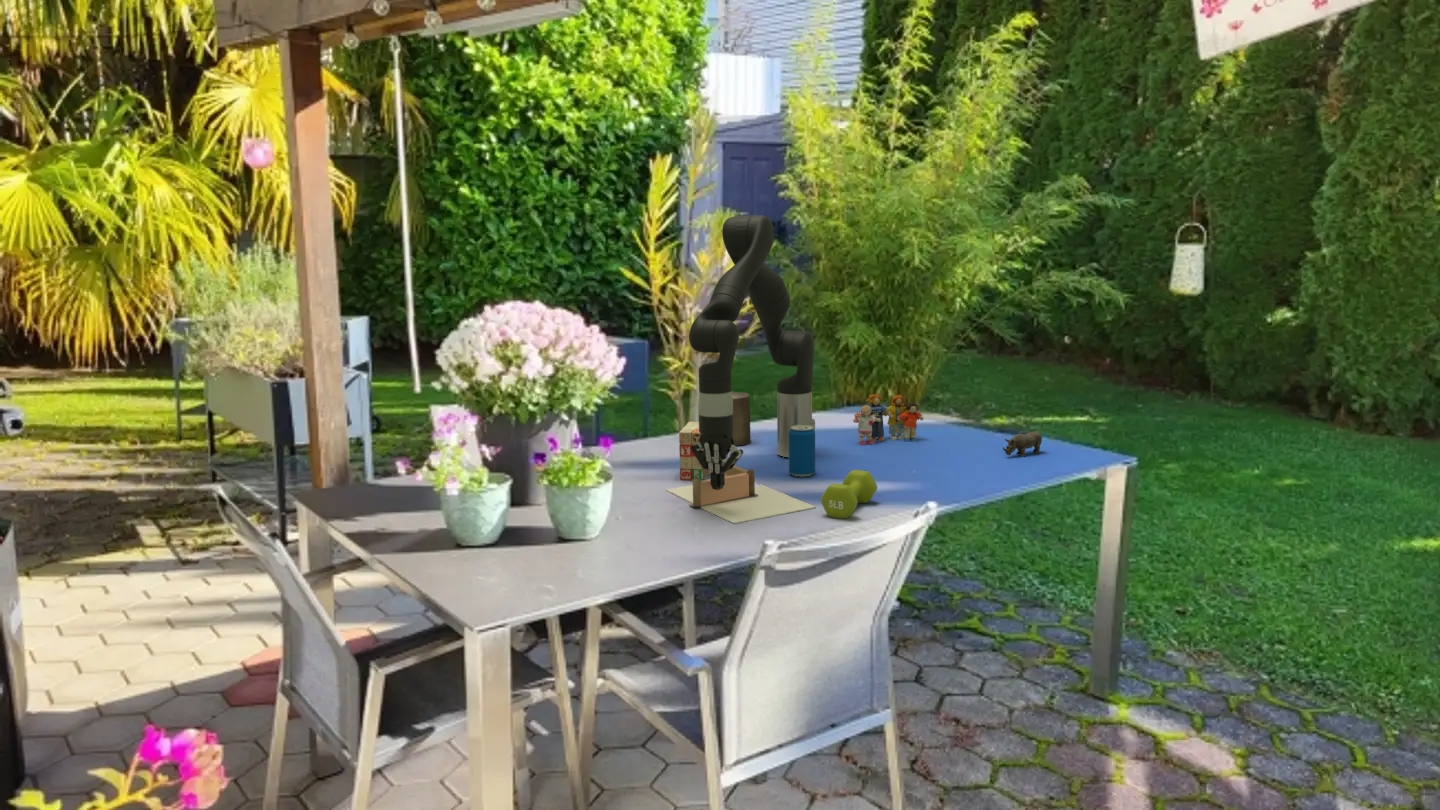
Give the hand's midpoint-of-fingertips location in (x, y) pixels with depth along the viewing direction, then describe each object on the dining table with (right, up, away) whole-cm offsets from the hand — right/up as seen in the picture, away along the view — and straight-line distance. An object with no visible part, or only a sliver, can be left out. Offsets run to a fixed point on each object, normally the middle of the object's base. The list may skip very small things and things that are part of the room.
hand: (717, 488), depth 226 cm
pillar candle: (+4, +8, +65) cm, 65 cm away
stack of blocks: (-4, +2, +35) cm, 36 cm away
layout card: (+5, -3, +8) cm, 10 cm away
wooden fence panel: (+4, -1, +16) cm, 16 cm away
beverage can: (+21, +1, +29) cm, 35 cm away
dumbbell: (+29, -5, -1) cm, 29 cm away
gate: (+1, -3, +5) cm, 6 cm away
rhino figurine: (+80, +5, +44) cm, 92 cm away
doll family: (+47, +8, +65) cm, 80 cm away
